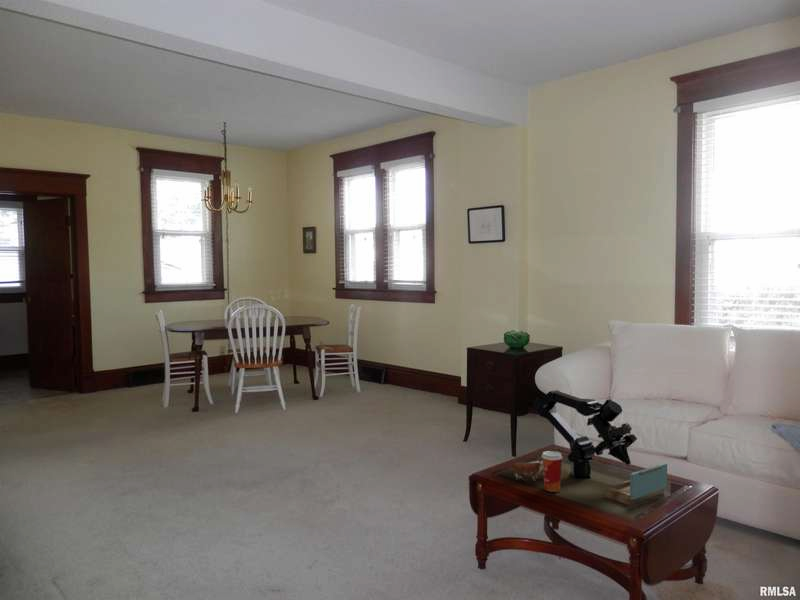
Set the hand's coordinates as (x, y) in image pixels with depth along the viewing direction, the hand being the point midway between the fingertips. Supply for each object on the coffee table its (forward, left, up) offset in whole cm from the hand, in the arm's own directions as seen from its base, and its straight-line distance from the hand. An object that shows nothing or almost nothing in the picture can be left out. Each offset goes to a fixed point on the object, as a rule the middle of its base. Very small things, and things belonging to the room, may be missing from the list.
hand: (629, 464), depth 224 cm
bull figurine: (-33, +15, -11) cm, 38 cm away
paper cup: (-27, +4, -11) cm, 30 cm away
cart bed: (+1, -2, -11) cm, 11 cm away
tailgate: (+4, -7, -9) cm, 12 cm away
